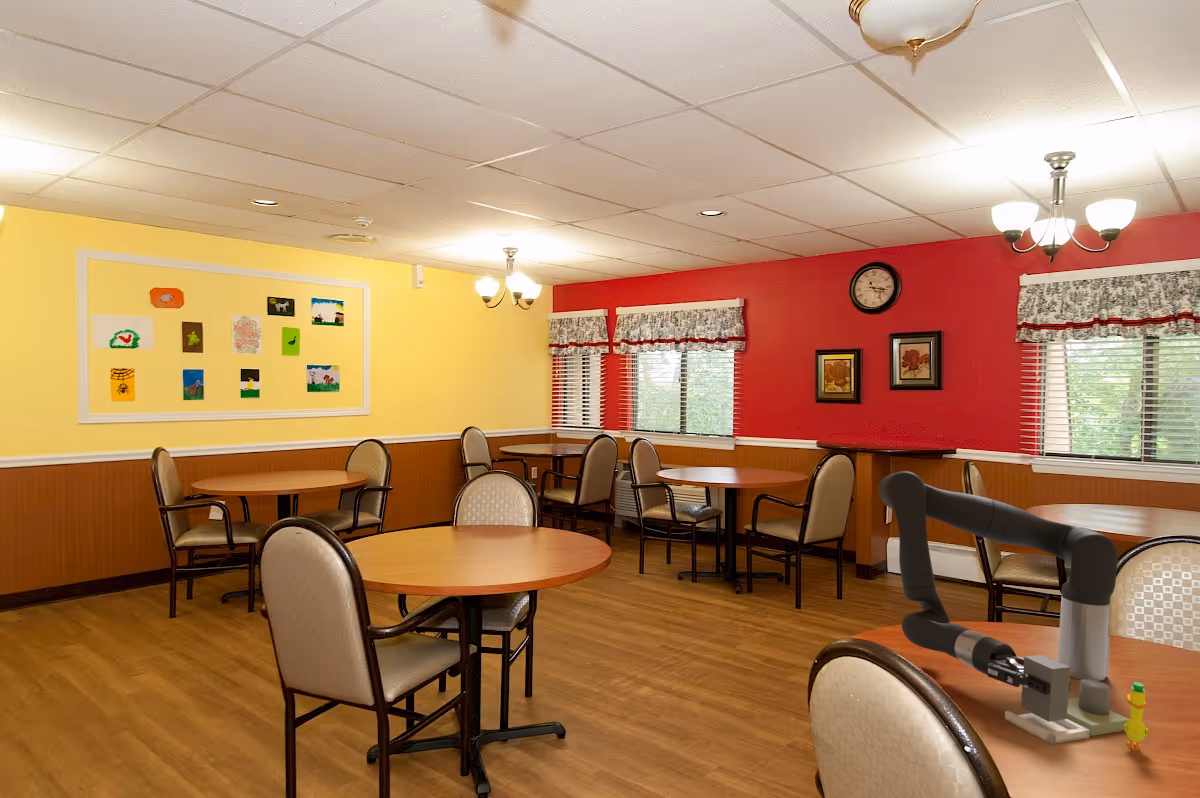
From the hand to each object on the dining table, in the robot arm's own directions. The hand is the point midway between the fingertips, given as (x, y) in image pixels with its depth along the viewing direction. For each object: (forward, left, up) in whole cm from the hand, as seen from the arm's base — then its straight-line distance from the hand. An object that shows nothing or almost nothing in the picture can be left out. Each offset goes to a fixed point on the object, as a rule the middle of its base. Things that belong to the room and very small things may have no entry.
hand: (1058, 688), depth 136 cm
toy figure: (-10, +7, -9) cm, 15 cm away
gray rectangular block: (0, -3, -6) cm, 7 cm away
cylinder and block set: (-6, -2, -9) cm, 11 cm away
